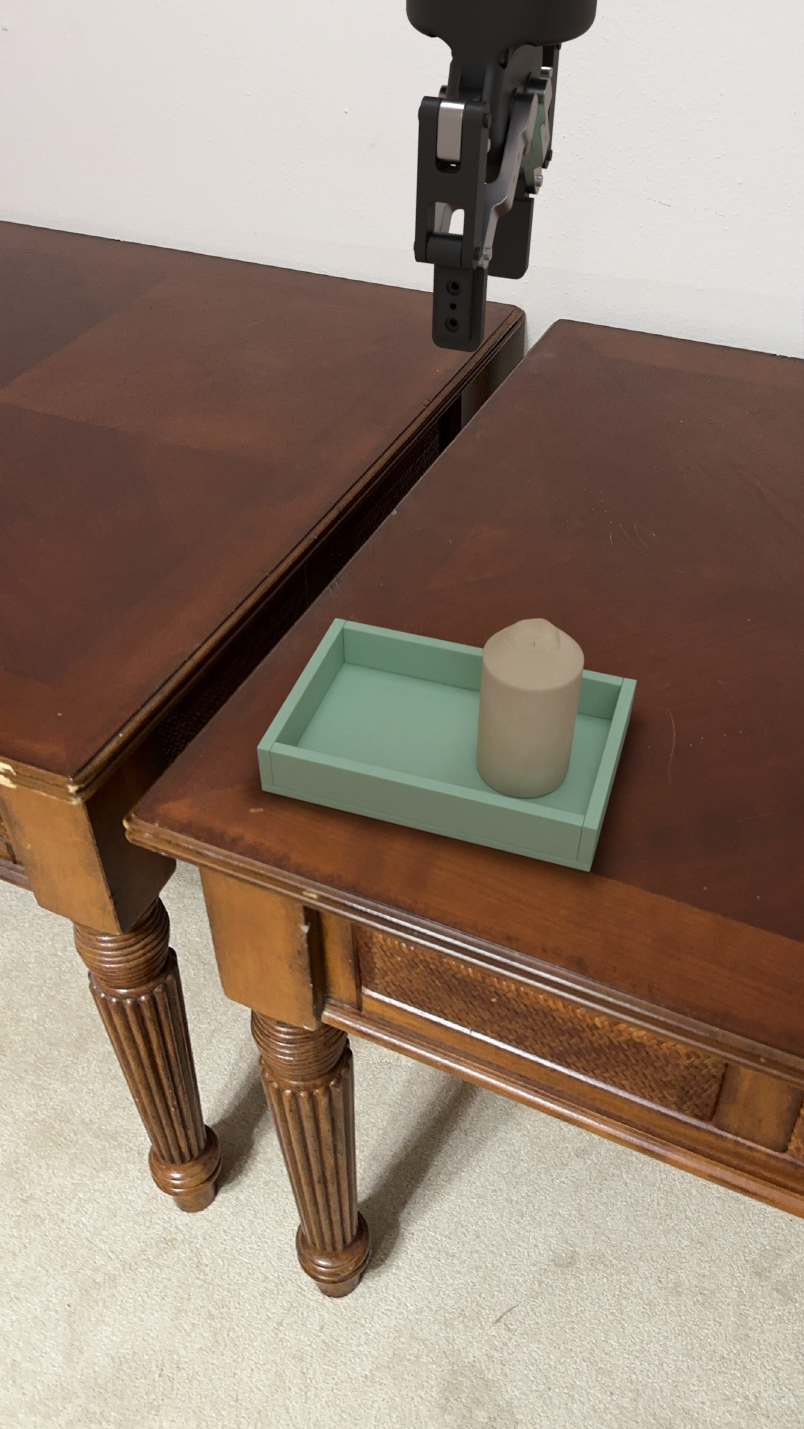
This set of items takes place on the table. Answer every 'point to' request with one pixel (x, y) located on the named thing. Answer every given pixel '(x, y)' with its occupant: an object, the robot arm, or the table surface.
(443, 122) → the robot arm
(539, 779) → the candle
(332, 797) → the tray
